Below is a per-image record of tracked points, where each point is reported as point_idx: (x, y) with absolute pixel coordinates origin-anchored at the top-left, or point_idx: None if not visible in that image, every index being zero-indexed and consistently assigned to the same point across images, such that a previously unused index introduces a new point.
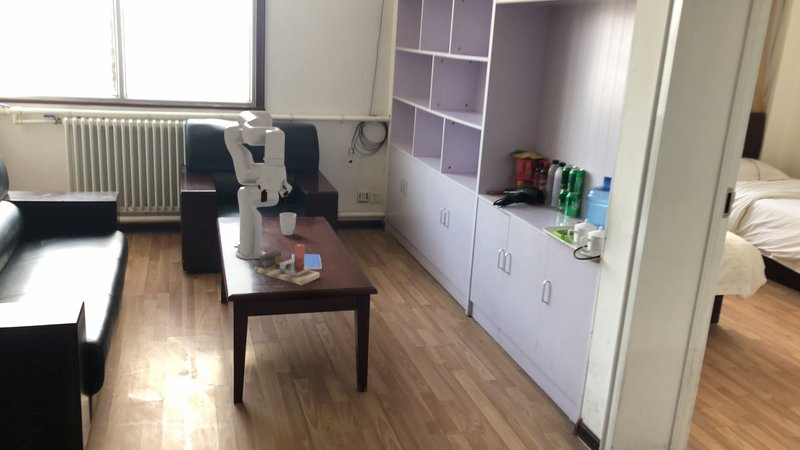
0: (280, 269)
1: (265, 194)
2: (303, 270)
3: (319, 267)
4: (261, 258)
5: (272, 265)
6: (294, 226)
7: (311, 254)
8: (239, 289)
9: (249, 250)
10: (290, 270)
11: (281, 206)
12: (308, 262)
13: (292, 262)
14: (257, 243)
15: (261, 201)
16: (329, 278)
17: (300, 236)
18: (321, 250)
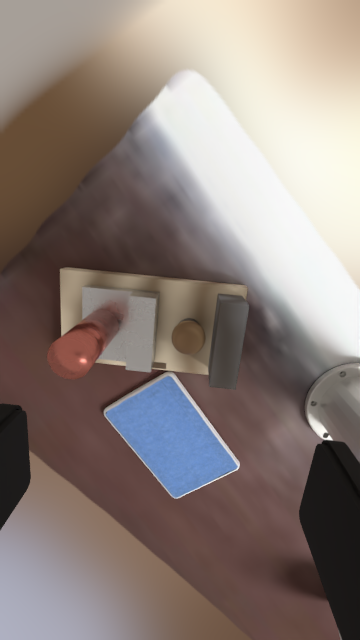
0: (154, 293)
1: (350, 595)
2: (82, 319)
3: (107, 411)
4: (240, 303)
5: (213, 329)
6: None
7: (191, 488)
8: (201, 108)
9: (349, 390)
10: (114, 295)
11: (3, 409)
12: (158, 430)
13: (127, 333)
14: (339, 423)
15: (336, 445)
16: (41, 360)
17: (304, 592)
18: (193, 530)
